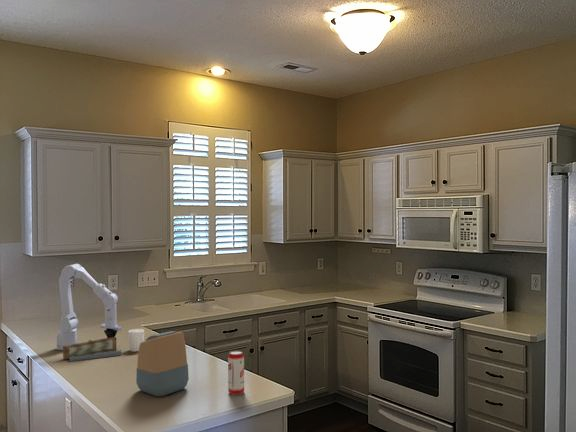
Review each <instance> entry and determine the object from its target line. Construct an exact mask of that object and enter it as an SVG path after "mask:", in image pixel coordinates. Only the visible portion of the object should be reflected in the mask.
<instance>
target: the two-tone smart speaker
mask: <svg viewBox="0 0 576 432" xmlns="http://www.w3.org/2000/svg"><path fill="white" fill-rule="evenodd" d="M184 336H185V335H184V333H183V331H178V332H177V331H176V330H175V331H174V330H171V331H166V332H161V333H158V334H153V335H150V336H148V337H147V338H146V339H145V340H144V342H142V343H140V346H139V351H137V352H138V353H137V366H136V376H135V377H136V379H135V380H136V382H135V383H136V385H137V387H138V389H139V390H141V392H144V393H146V394H149V395H152V396H155V397H158V398H159V397H160V398H161V397H165V396H167V395H169V394H172V393H175V392H178V391H182V390H184V389H185V388H186V386H187V385H188V383H189V363H188V360H187V359H188V357H187V349H186V347H187V346H186V342H185V337H184Z"/></svg>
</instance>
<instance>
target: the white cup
mask: <svg viewBox="0 0 576 432" xmlns="http://www.w3.org/2000/svg"><path fill="white" fill-rule="evenodd" d="M127 334H128V346H129V351H130V352H138V351H139V346H140V343H142V342H144V341H145V329H143V328H134V329H130V330H128V333H127Z"/></svg>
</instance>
